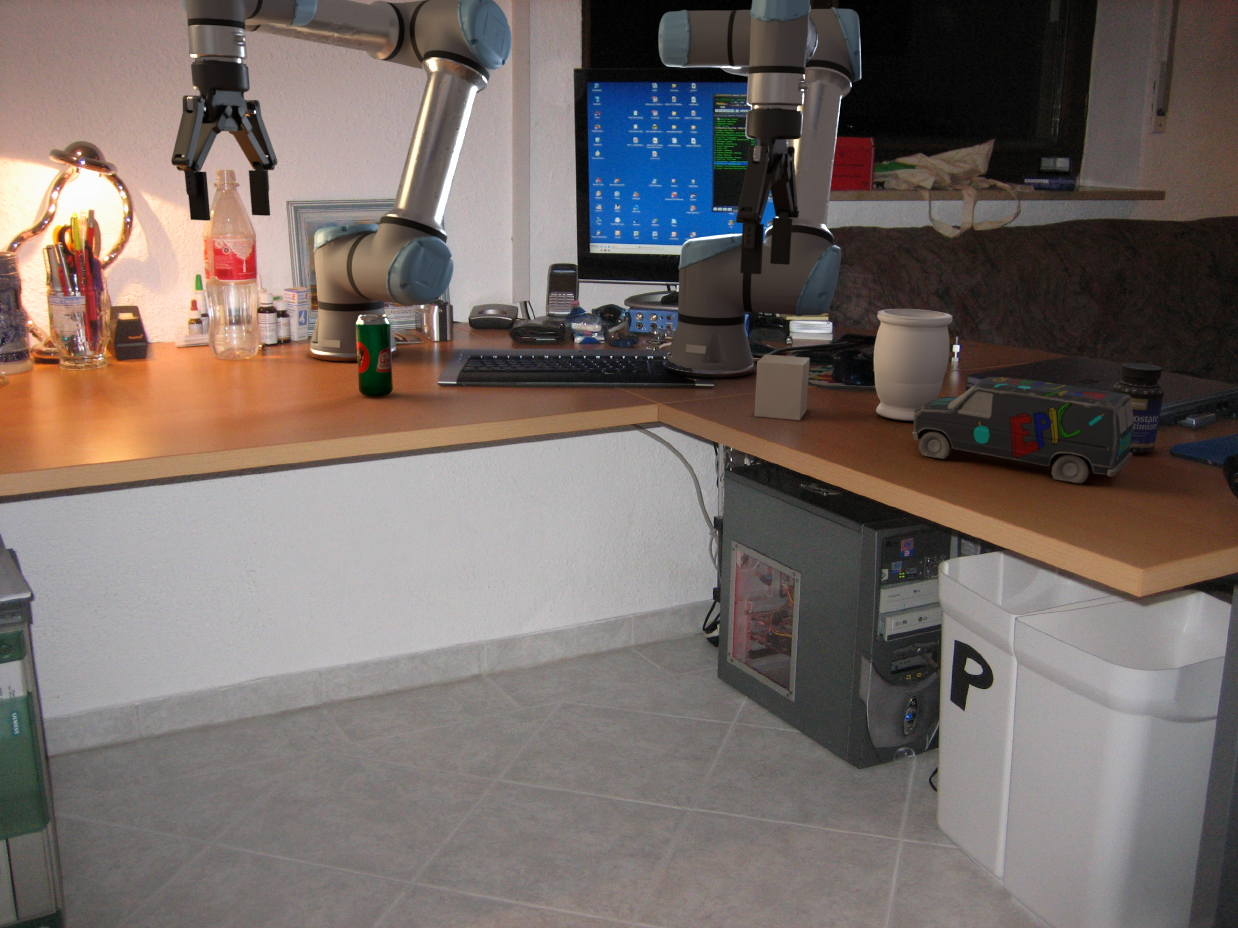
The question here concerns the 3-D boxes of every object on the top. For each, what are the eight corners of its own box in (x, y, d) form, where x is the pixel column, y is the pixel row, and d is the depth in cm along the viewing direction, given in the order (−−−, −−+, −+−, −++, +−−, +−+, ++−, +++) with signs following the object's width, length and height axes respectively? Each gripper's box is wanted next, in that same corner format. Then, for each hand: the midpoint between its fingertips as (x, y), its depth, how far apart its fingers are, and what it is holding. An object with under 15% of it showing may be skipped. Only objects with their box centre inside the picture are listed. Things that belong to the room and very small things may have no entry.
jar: (854, 409, 159) (862, 309, 155) (910, 404, 163) (920, 306, 159) (898, 426, 150) (909, 320, 146) (957, 420, 154) (969, 317, 150)
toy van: (934, 436, 145) (942, 364, 142) (1131, 470, 131) (1144, 390, 128) (905, 453, 136) (913, 376, 134) (1112, 490, 123) (1125, 406, 120)
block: (799, 420, 153) (803, 365, 151) (754, 416, 155) (757, 361, 153) (806, 411, 158) (809, 357, 156) (762, 407, 160) (765, 354, 158)
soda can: (384, 398, 160) (381, 318, 157) (353, 396, 161) (349, 317, 158) (398, 391, 165) (395, 314, 162) (367, 389, 166) (363, 312, 163)
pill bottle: (1117, 454, 138) (1130, 370, 135) (1094, 442, 144) (1106, 361, 140) (1163, 454, 138) (1177, 370, 135) (1139, 442, 144) (1152, 361, 141)
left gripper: (180, 53, 136) (195, 223, 142) (295, 68, 159) (304, 214, 165) (132, 53, 138) (149, 221, 144) (252, 68, 161) (263, 212, 167)
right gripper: (774, 105, 131) (765, 279, 137) (825, 112, 153) (815, 262, 159) (716, 105, 134) (709, 275, 140) (774, 111, 156) (766, 259, 162)
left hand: (232, 218), depth 154 cm, fingers open, 13 cm apart
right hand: (765, 268), depth 149 cm, fingers open, 13 cm apart
